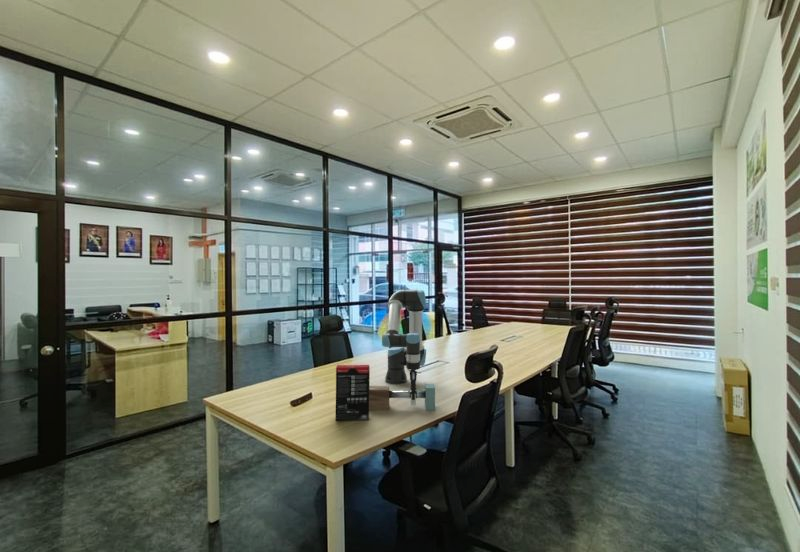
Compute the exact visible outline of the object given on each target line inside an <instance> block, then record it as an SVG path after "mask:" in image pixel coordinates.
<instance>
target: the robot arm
mask: <svg viewBox="0 0 800 552" xmlns="http://www.w3.org/2000/svg"><path fill="white" fill-rule="evenodd" d="M387 307H388V313H387V325H386V333H384V334H382V336H381V345H382V347H385V348H388V351H387V371H386V375H385V378H384V380H385V382H386V383H388V384H395V385H396V384H397V385H398V384H404V383H407V381H408V376H407V374H406V373H407V372H406V370H405V367H406V369H407V370H409V380H410V390H411V393H410V394H411V398H410V406H417V403H416V402H417V398H416V390H417V385H416V383H417V376H418V372H417V371H416V370H420V368H421V367H424V366H425V365H426V358H427V349H426V348H425V346H424V345H423V312H424V311H425V308H426V307H427V300H426V293H425V291H424V290H423V289H399V290H397V291H395V292H394V293H393V294H392V295H391V296H390V298H389V299H388V302H387ZM403 308H406V310H407V311H408V316H409V317H408V320H409V321H408V322H409V325H408V326H409V327H408V328H409V333H400V321H401V311H402V309H403ZM417 391H418V390H417Z"/></svg>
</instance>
